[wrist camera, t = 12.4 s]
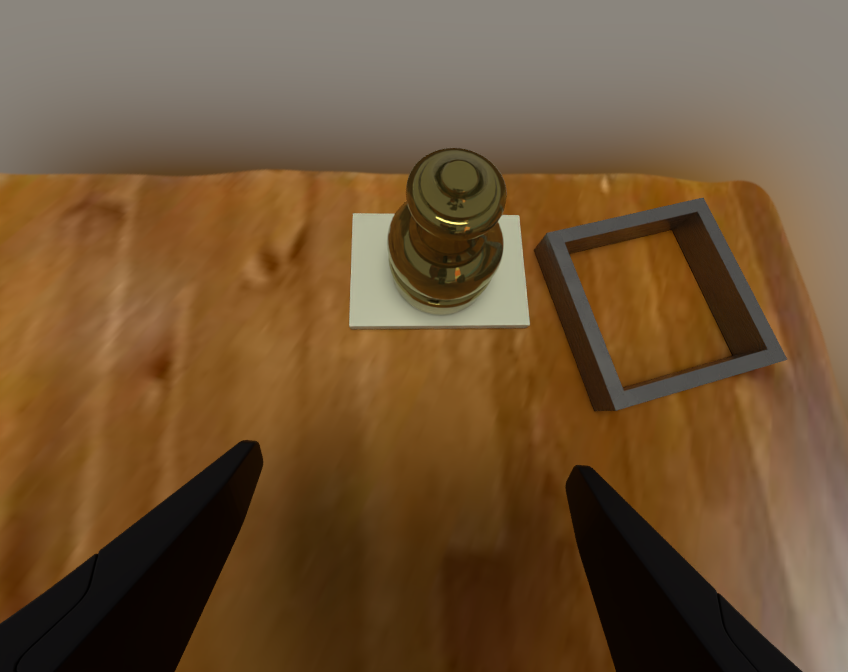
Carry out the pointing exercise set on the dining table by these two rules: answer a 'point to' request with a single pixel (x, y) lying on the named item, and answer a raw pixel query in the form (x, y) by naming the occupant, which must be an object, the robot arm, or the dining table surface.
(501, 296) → the tile
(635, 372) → the dining table surface
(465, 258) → the brass rounded piece
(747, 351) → the grey square frame
